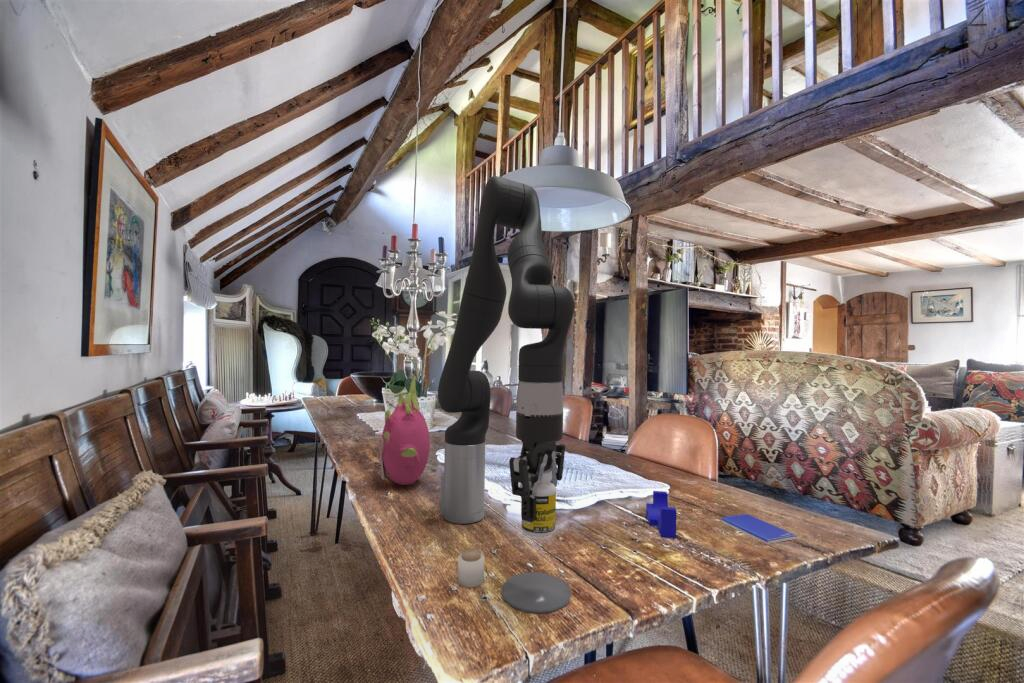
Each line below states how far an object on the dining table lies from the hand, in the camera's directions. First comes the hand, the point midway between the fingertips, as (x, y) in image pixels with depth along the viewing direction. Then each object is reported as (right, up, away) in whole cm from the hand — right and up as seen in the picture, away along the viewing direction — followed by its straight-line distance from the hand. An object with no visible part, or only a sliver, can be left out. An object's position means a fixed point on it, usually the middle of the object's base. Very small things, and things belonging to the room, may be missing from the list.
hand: (538, 514), depth 75 cm
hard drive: (+49, -14, +27) cm, 58 cm away
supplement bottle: (0, -3, 0) cm, 3 cm away
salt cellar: (-11, -12, +4) cm, 17 cm away
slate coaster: (0, -13, 0) cm, 13 cm away
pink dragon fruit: (-34, -12, +54) cm, 65 cm away
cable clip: (+29, -13, +28) cm, 42 cm away
